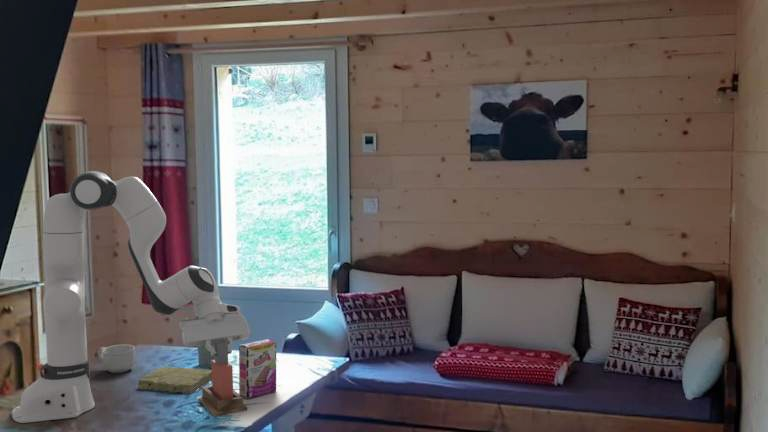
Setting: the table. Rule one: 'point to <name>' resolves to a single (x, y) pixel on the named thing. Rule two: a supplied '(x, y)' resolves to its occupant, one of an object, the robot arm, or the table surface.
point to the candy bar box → (257, 368)
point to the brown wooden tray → (221, 402)
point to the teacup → (118, 357)
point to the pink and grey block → (222, 373)
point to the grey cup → (205, 356)
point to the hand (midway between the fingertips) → (222, 353)
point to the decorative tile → (176, 379)
